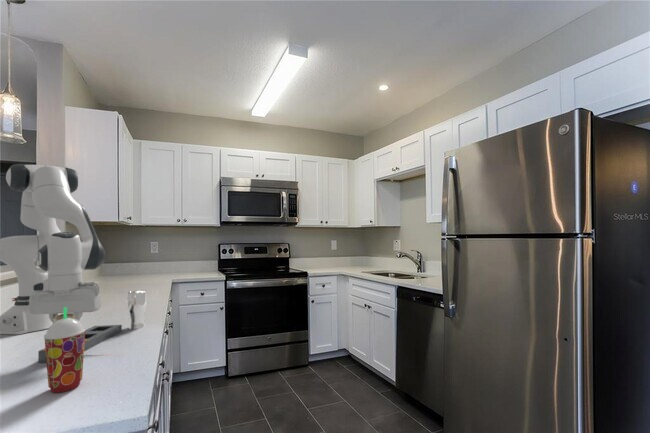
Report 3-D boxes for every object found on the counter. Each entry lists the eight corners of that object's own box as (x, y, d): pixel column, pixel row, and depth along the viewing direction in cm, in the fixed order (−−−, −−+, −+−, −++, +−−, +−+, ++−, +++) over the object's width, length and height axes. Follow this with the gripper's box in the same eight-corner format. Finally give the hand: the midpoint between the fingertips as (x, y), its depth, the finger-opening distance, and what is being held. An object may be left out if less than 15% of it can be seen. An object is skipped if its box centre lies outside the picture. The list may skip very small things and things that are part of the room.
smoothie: (59, 381, 90) (59, 304, 90) (93, 379, 90) (92, 303, 91) (35, 397, 81) (35, 312, 82) (72, 394, 82) (71, 310, 83)
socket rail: (72, 361, 104) (72, 348, 104) (38, 362, 104) (38, 350, 104) (121, 333, 131) (121, 323, 131) (94, 335, 131) (94, 325, 131)
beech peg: (54, 342, 106) (54, 316, 107) (64, 338, 110) (63, 313, 111) (68, 341, 106) (67, 315, 107) (76, 337, 110) (76, 312, 111)
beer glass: (138, 332, 132) (137, 293, 133) (122, 331, 134) (122, 293, 134) (150, 327, 139) (150, 290, 140) (135, 326, 141) (135, 290, 141)
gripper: (104, 280, 113) (105, 322, 112) (40, 283, 112) (41, 325, 111) (92, 283, 106) (93, 328, 106) (24, 286, 106) (24, 331, 105)
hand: (65, 327), depth 109 cm, fingers closed on beech peg, 4 cm apart
